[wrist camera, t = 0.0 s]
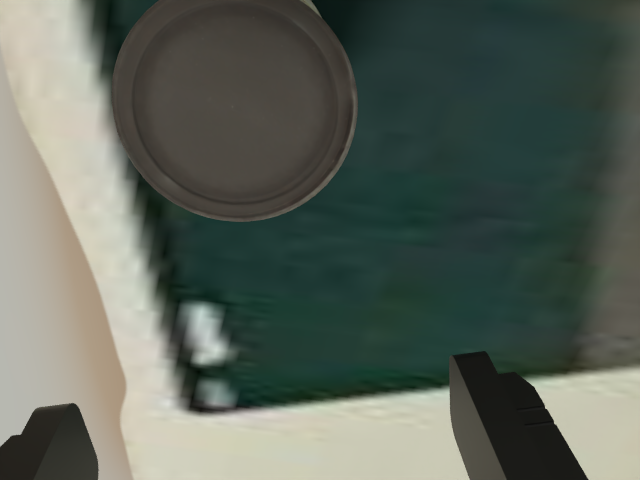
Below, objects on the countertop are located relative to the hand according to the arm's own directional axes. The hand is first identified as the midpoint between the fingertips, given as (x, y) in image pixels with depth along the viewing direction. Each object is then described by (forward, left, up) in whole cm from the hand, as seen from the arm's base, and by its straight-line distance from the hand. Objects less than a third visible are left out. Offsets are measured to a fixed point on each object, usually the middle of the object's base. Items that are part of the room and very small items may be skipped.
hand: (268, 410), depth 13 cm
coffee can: (-3, -1, -30) cm, 30 cm away
